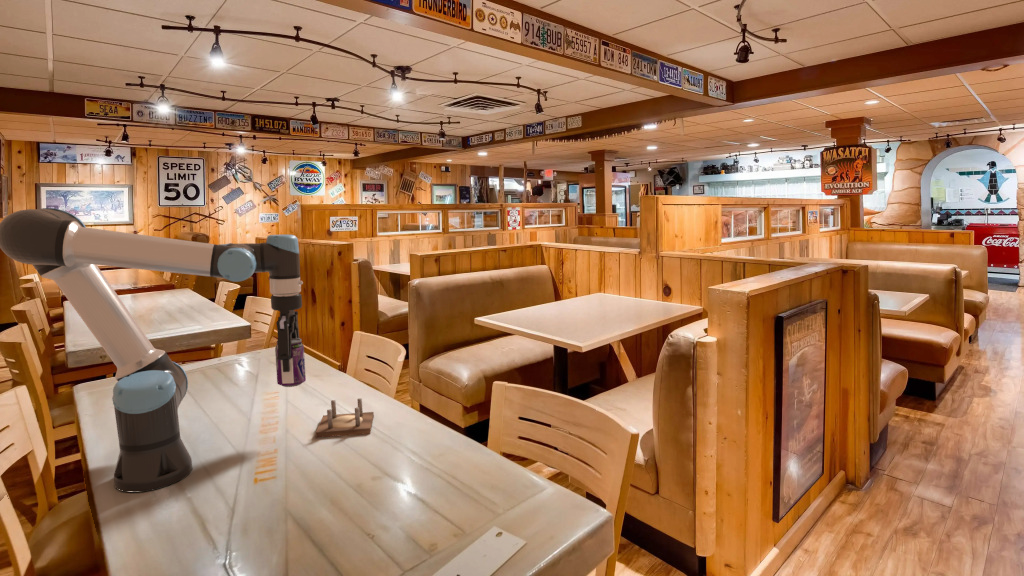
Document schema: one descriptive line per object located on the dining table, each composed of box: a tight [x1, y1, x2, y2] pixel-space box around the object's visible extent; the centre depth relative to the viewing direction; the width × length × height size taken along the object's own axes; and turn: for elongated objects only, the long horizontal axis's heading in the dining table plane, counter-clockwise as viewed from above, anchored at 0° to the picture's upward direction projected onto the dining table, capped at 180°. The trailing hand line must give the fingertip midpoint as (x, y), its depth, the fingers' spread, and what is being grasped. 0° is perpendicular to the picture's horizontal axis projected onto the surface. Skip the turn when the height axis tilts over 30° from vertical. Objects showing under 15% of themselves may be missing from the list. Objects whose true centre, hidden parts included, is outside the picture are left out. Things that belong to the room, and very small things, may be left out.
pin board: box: [315, 397, 375, 439], centre depth 155 cm, size 12×14×6 cm
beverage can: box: [274, 337, 307, 388], centre depth 149 cm, size 7×7×12 cm
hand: (291, 378), depth 150 cm, fingers closed on beverage can, 7 cm apart
